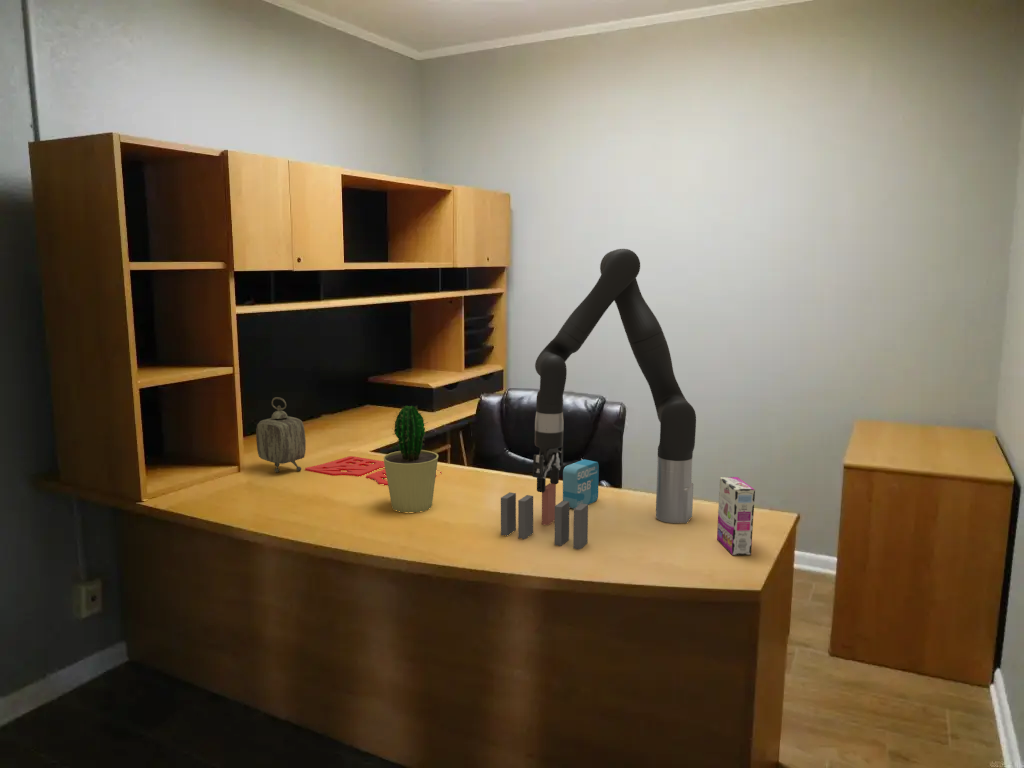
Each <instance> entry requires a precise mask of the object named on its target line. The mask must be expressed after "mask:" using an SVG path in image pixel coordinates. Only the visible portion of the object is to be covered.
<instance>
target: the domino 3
mask: <svg viewBox="0 0 1024 768" xmlns="http://www.w3.org/2000/svg"><path fill="white" fill-rule="evenodd" d="M556 489H557V484H551V483H550V482H549V483H548V484H546V487H545V492H543V493H542V492H541V525H544V526H549V525H551V524H552V523H553V522H555V506H556V505H557V503H556V502H557V499H556V498H557V497H556V495H557V494H556V492H557V490H556Z"/></svg>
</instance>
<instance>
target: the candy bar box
mask: <svg viewBox="0 0 1024 768" xmlns="http://www.w3.org/2000/svg"><path fill="white" fill-rule="evenodd" d="M718 492H719V493H718V509H717V510H718V512H717V513H718V514H717V531H716V540H717V541H718V543H720V544H721V545H722V547H724V548H725V549H726V550H727V551H728V552H729V554H731V555H732V556H751V555H752V548H753V547H752V545H753V543H752V542H753V528H754V526H753V525H754V513H755V500H756V499H755V497H756V489H755V488H754V487H752V486H751V485H750V484H748V483H747V482H745V481H744V480H742V479H741V478H740V477H738V476H730V477H729V476H726V477H725V476H723V477H719V491H718Z"/></svg>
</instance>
